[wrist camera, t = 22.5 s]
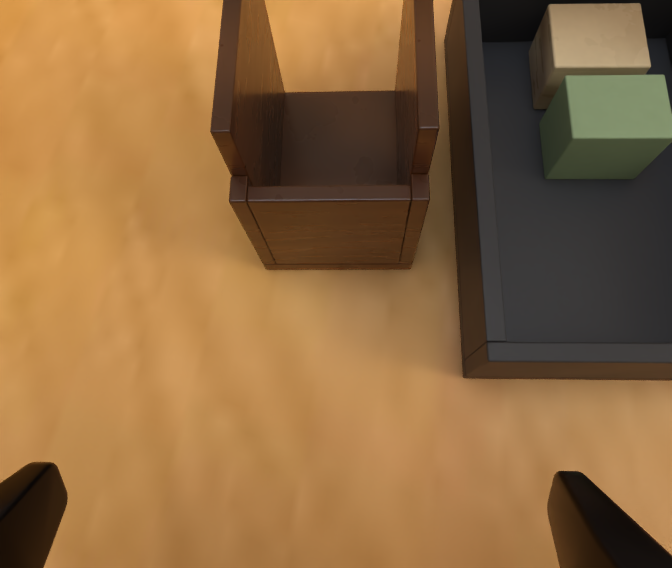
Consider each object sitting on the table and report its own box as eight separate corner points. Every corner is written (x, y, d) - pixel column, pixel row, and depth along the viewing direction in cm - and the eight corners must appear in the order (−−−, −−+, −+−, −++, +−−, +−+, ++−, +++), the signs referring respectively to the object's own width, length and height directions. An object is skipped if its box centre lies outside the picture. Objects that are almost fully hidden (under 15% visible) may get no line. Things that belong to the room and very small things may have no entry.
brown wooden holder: (410, 269, 24) (441, 159, 14) (265, 270, 24) (206, 162, 15) (406, 99, 26) (428, -84, 17) (275, 102, 27) (230, -76, 17)
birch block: (641, 1, 23) (610, 51, 26) (548, 2, 23) (527, 51, 26) (652, 66, 22) (618, 110, 25) (554, 67, 22) (532, 110, 25)
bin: (743, 381, 21) (841, 364, 17) (462, 378, 22) (487, 361, 18) (670, 35, 27) (731, -46, 22) (444, 40, 27) (459, -38, 23)
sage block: (677, 137, 20) (665, 73, 21) (572, 137, 21) (565, 74, 22) (633, 180, 24) (625, 122, 25) (544, 179, 24) (538, 123, 25)
